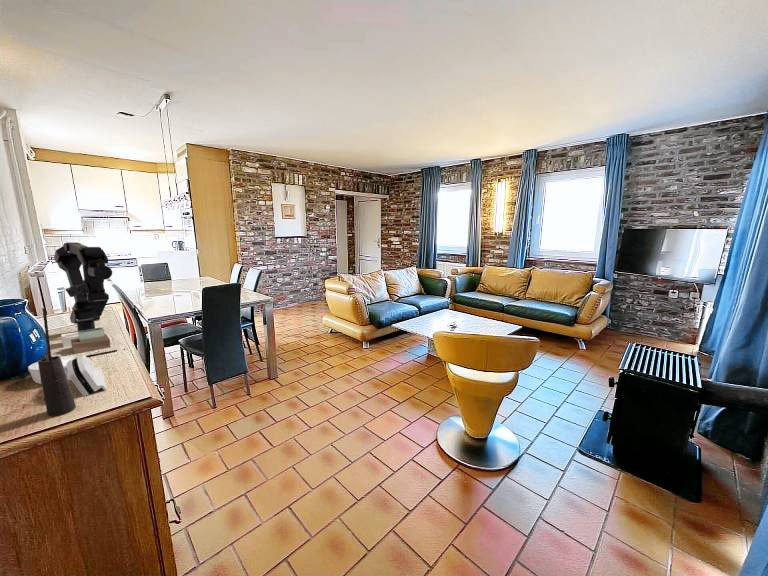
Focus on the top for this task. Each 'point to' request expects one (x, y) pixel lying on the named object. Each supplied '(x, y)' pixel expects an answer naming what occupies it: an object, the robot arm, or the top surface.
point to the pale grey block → (91, 334)
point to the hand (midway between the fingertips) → (97, 313)
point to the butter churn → (54, 381)
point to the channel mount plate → (91, 346)
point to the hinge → (85, 375)
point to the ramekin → (36, 374)
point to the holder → (68, 338)
